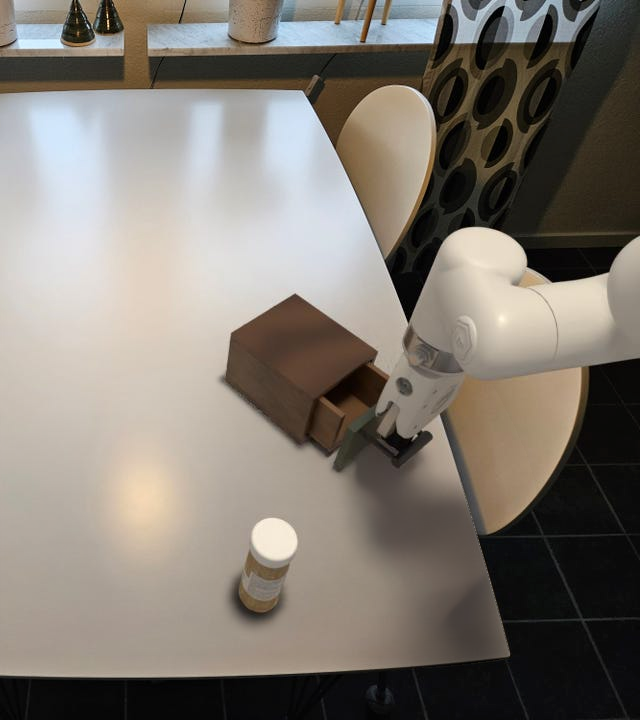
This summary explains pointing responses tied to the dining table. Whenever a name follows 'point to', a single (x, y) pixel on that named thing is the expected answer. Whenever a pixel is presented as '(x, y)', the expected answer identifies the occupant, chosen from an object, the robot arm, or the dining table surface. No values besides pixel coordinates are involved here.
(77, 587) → the dining table surface
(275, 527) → the sprinkles bottle
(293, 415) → the cabinet
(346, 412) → the drawer
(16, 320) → the dining table surface
